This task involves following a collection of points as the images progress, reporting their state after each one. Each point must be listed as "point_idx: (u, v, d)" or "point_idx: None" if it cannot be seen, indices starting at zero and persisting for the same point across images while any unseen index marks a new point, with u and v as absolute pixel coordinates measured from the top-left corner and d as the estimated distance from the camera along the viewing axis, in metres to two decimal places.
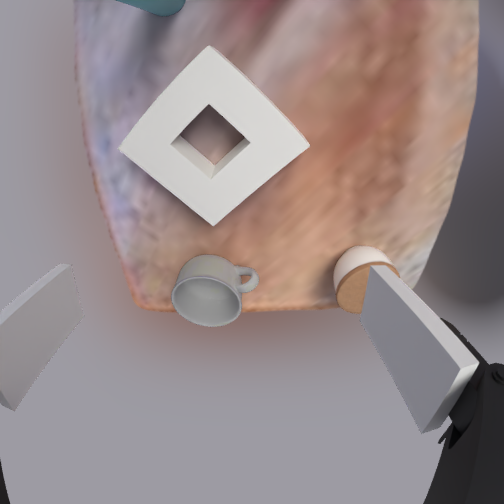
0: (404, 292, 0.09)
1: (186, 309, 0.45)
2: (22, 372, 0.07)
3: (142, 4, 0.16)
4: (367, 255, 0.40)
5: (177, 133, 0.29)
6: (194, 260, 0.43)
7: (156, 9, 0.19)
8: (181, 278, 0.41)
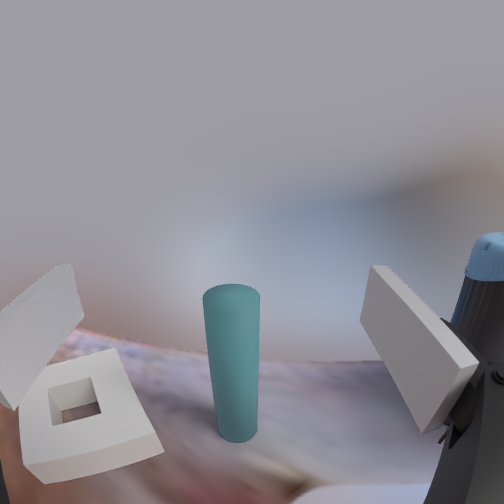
0: (404, 292, 0.09)
1: None
2: (22, 372, 0.07)
3: None
4: None
5: (94, 384, 0.28)
6: None
7: None
8: None
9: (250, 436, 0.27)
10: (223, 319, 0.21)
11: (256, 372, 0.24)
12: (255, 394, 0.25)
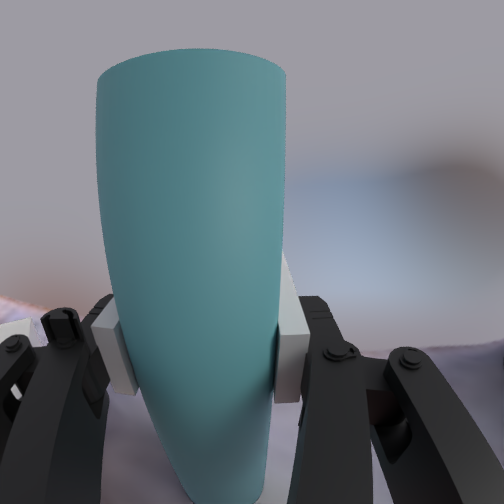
0: None
1: None
2: None
3: None
4: None
5: None
6: None
7: None
8: None
9: (250, 503, 0.10)
10: (138, 94, 0.04)
11: (271, 366, 0.08)
12: (264, 428, 0.08)
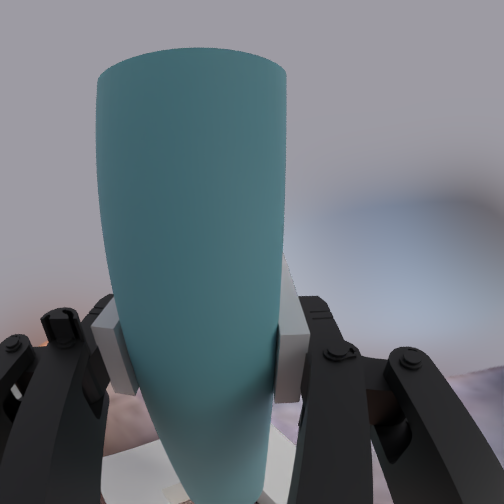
0: None
1: None
2: None
3: None
4: None
5: None
6: None
7: None
8: None
9: (250, 503, 0.10)
10: (138, 93, 0.04)
11: (271, 367, 0.07)
12: (265, 429, 0.08)
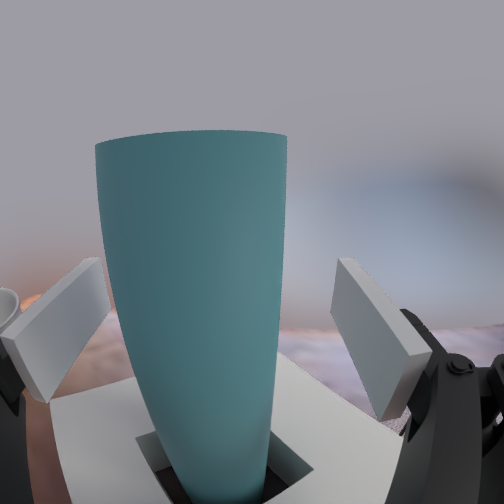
0: (366, 282, 0.10)
1: None
2: (55, 364, 0.08)
3: None
4: None
5: None
6: None
7: None
8: None
9: None
10: (138, 178, 0.04)
11: (269, 401, 0.08)
12: (264, 450, 0.09)
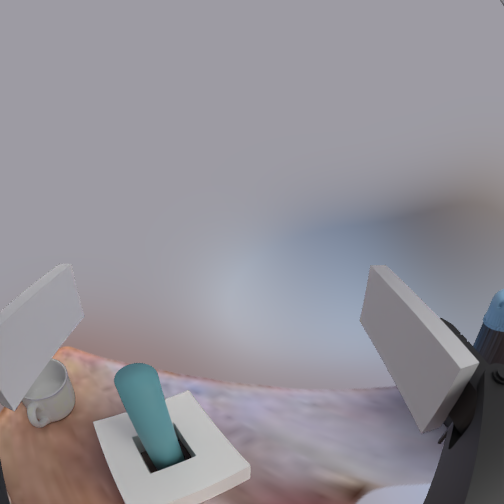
0: (404, 292, 0.09)
1: None
2: (22, 372, 0.07)
3: None
4: None
5: (180, 429, 0.32)
6: (73, 398, 0.35)
7: None
8: (68, 378, 0.35)
9: None
10: (126, 398, 0.22)
11: (167, 430, 0.26)
12: (171, 444, 0.27)
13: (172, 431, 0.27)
